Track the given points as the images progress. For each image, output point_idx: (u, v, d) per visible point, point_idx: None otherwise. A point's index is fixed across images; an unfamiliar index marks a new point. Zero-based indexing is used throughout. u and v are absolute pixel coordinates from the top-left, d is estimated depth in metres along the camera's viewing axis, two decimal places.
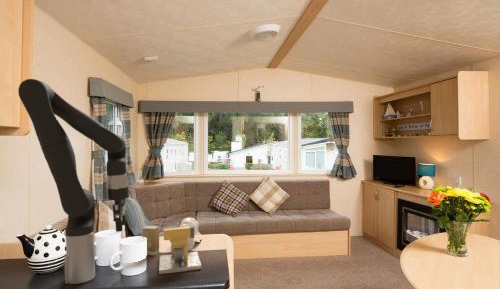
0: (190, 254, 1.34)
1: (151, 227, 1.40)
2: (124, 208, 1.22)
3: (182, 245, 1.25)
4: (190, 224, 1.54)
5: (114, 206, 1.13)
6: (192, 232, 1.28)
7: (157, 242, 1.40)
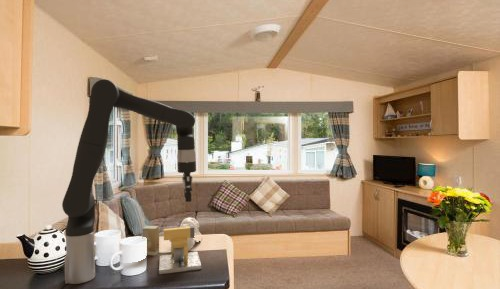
0: (190, 254, 1.34)
1: (151, 227, 1.40)
2: None
3: (182, 245, 1.25)
4: (190, 224, 1.54)
5: (186, 177, 1.22)
6: (192, 232, 1.28)
7: (157, 242, 1.40)
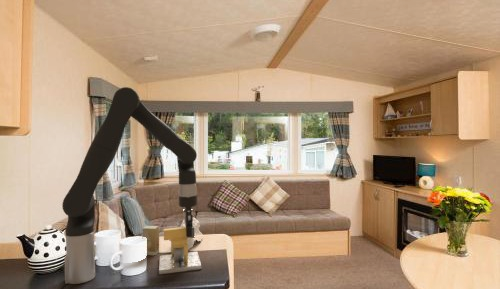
0: (190, 254, 1.34)
1: (151, 227, 1.40)
2: None
3: (182, 245, 1.25)
4: None
5: (187, 217, 1.22)
6: (192, 232, 1.28)
7: (157, 242, 1.40)
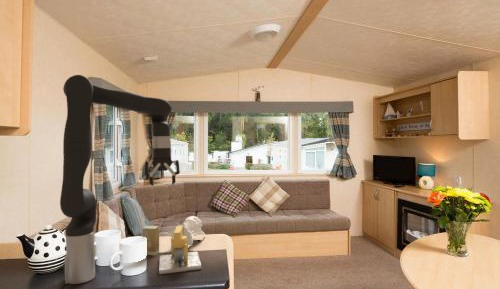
0: (190, 254, 1.34)
1: (151, 227, 1.40)
2: None
3: None
4: (192, 223, 1.56)
5: (178, 161, 1.34)
6: (183, 229, 1.33)
7: (157, 242, 1.40)
